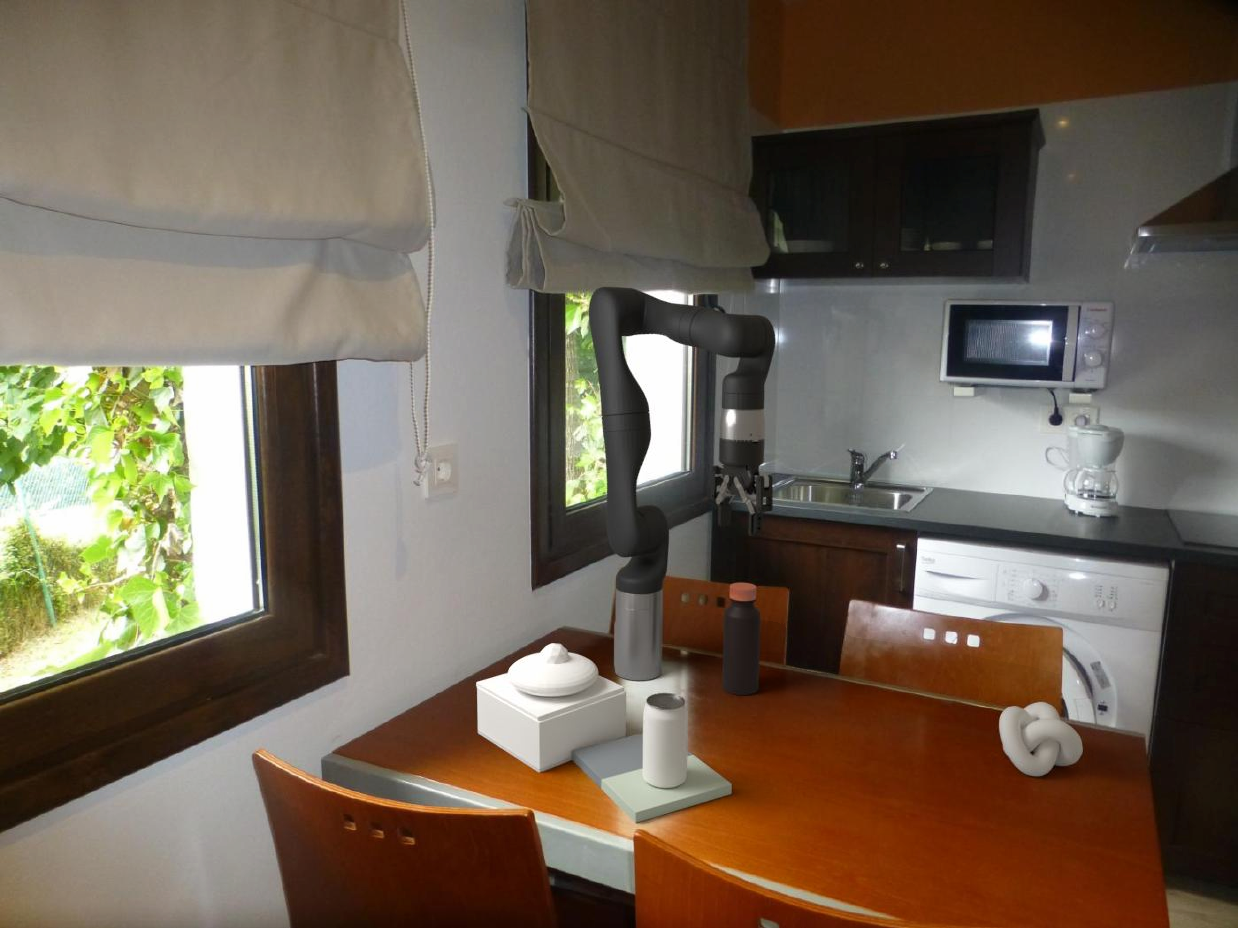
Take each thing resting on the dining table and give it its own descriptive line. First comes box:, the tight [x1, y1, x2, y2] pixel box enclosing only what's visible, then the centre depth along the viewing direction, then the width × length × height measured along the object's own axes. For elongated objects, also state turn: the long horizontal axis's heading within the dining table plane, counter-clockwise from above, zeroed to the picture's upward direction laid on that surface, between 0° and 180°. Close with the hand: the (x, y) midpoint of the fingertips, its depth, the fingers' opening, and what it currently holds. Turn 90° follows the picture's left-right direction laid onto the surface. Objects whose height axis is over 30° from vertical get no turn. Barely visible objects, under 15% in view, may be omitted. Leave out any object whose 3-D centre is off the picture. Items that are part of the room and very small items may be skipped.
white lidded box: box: [475, 642, 627, 774], centre depth 140 cm, size 18×18×16 cm
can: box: [642, 692, 689, 789], centre depth 123 cm, size 6×6×12 cm
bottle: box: [721, 582, 762, 696], centre depth 159 cm, size 7×7×20 cm
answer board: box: [571, 732, 733, 824], centre depth 127 cm, size 20×16×2 cm
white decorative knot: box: [998, 701, 1084, 777], centre depth 131 cm, size 11×12×9 cm
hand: (739, 530), depth 144 cm, fingers open, 8 cm apart
